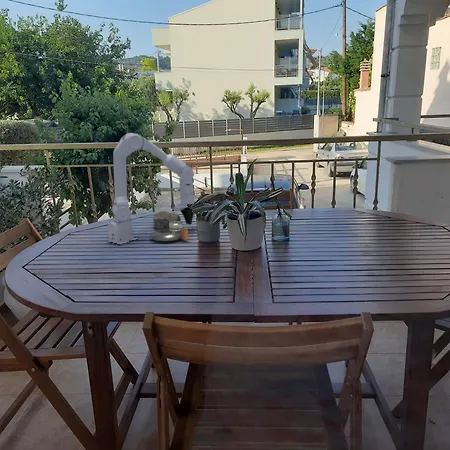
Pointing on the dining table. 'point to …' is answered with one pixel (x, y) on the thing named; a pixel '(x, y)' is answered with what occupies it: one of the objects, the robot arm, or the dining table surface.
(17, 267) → the dining table surface
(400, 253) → the dining table surface
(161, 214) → the rock
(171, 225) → the cover
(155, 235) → the turntable
